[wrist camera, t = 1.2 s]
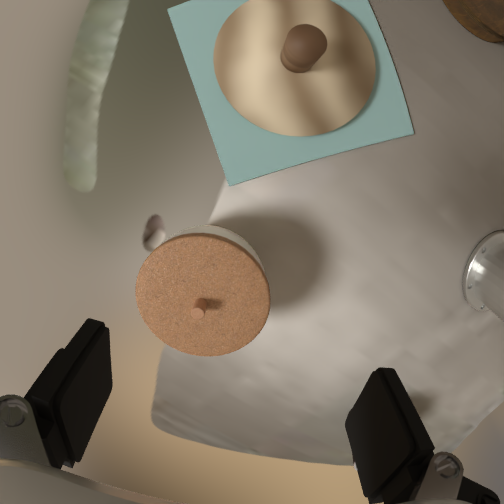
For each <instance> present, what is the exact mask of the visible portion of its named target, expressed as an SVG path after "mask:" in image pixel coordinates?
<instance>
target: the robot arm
mask: <svg viewBox="0 0 504 504" xmlns="http://www.w3.org/2000/svg"><path fill="white" fill-rule="evenodd" d="M463 293H464V297H465V299H466V301H467V302H468V304H469V305H470V306H471V307H472V308H474V309H475V310H477V311H489V310H491V311H492V312H493V313H495V314H496V315H497V316H498V317H499V318H500V319H501V320H502V321H503V322H504V231H496V232H494V233H491V234H489V235H488V236H487V237H485V238H484V239H483V240H482V241H481V242H480V243H479V244H478V245H477V247H476V248H475V249H474V251H473V253H472V254H471V256H470V258H469V260H468V263H467V265H466V269H465V272H464V277H463ZM111 390H112V372H111V357H110V335H109V328H107V327H105V324H104V322H101V321H97V320H94V319H90V318H88V319H87V320H86V321H85V323H84V324H83V325H82V327H81V328H80V329H79V330H78V332H77V333H76V334H75V336H74V337H73V338H72V340H71V341H70V342H69V344H68V345H67V346H66V348H65V349H63V348H61V349H59V350H58V351H57V352H56V354H55V355H54V356H53V358H52V359H51V360H50V362H49V363H48V364H47V366H46V367H45V368H44V370H43V371H42V373H41V374H40V375H39V377H38V378H37V380H36V381H35V382H34V384H33V385H32V387H31V388H30V389H29V391H28V392H27V394H26V395H25V397H24V398H23V397H21V396H18V395H5V396H1V397H0V504H186V503H180V502H175V501H170V500H165V499H160V498H155V497H151V496H147V495H143V494H139V493H134V492H131V491H127V490H124V489H119V488H116V487H113V486H109V485H106V484H103V483H100V482H96V481H93V480H90V479H87V478H84V477H81V476H78V475H75V474H72V473H69V472H66V471H63V470H60V469H61V467H62V465H65V466H68V467H70V468H73V466H74V463H75V461H76V462H80V461H81V459H82V456H83V454H84V452H85V449H86V447H87V445H88V442H89V440H90V438H91V435H92V433H93V431H94V428H95V426H96V424H97V422H98V419H99V417H100V415H101V413H102V411H103V408H104V406H105V404H106V402H107V400H108V398H109V395H110V393H111ZM345 428H346V431H347V435H348V438H349V442H350V446H351V449H352V453H353V456H354V460H355V464H356V467H357V471H358V475H359V478H360V482H361V486H362V490H363V494H364V496H365V497H368V500H369V504H375V503H382V502H384V504H500V500H499V498H498V496H497V495H496V494H495V493H494V492H493V491H492V490H490V489H488V488H486V487H484V486H482V485H480V484H478V483H475V482H474V481H472V480H470V479H468V478H466V477H464V476H463V470H464V469H463V466H462V463H461V462H460V460H459V459H458V458H457V457H456V456H455V455H453V454H451V453H448V452H439V453H436V454H435V455H434V453H433V450H434V449H435V447H434V445H433V443H432V441H431V439H430V437H429V435H428V433H427V431H426V429H425V427H424V425H423V423H422V421H421V419H420V417H419V415H418V413H417V411H416V409H415V407H414V405H413V403H412V401H411V399H410V397H409V395H408V394H407V392H406V390H405V388H404V386H403V384H402V382H401V380H400V379H399V377H398V375H397V373H396V371H395V370H394V369H393V368H381V367H380V368H378V369H377V370H376V371H373V372H372V374H371V375H370V377H369V379H368V381H367V383H366V385H365V387H364V389H363V390H362V392H361V394H360V396H359V398H358V400H357V401H356V403H355V405H354V407H353V408H352V410H351V412H350V413H349V415H348V417H347V419H346V422H345Z"/></svg>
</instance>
